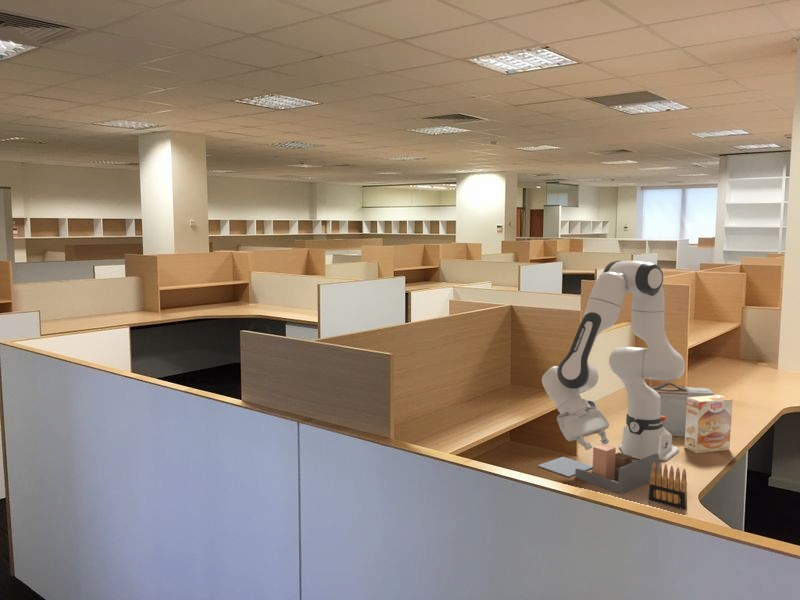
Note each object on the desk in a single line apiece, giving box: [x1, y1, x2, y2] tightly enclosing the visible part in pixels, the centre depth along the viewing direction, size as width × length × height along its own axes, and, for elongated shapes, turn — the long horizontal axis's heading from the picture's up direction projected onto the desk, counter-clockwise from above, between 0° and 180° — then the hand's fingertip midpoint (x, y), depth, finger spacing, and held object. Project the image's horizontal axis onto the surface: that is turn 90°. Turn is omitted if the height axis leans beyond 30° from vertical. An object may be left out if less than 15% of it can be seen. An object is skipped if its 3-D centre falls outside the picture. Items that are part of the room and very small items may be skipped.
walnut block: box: [615, 452, 633, 469], centre depth 221 cm, size 5×5×6 cm
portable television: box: [649, 379, 714, 437], centre depth 265 cm, size 12×24×30 cm, turn 78°
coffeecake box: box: [684, 394, 734, 454], centre depth 245 cm, size 15×7×20 cm, turn 106°
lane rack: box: [574, 454, 660, 495], centre depth 216 cm, size 21×17×8 cm
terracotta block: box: [592, 443, 617, 481], centre depth 214 cm, size 5×5×11 cm
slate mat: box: [537, 456, 593, 478], centre depth 227 cm, size 14×13×1 cm
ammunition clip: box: [647, 462, 688, 511], centre depth 196 cm, size 11×2×12 cm, turn 50°
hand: (598, 446), depth 216 cm, fingers open, 8 cm apart
